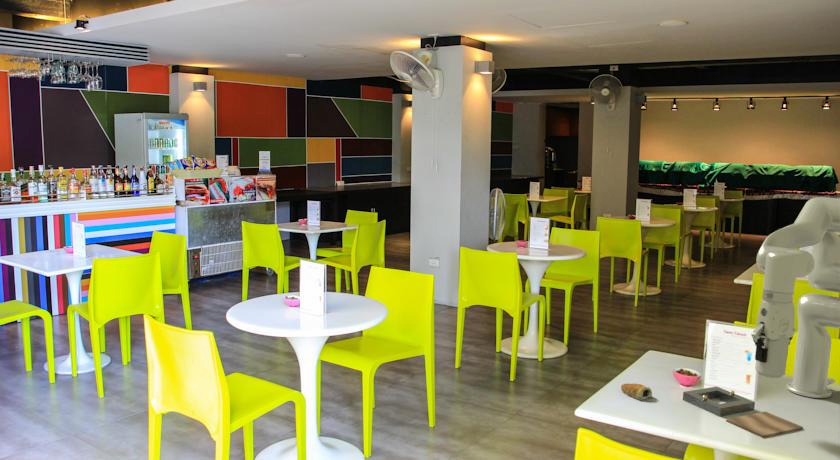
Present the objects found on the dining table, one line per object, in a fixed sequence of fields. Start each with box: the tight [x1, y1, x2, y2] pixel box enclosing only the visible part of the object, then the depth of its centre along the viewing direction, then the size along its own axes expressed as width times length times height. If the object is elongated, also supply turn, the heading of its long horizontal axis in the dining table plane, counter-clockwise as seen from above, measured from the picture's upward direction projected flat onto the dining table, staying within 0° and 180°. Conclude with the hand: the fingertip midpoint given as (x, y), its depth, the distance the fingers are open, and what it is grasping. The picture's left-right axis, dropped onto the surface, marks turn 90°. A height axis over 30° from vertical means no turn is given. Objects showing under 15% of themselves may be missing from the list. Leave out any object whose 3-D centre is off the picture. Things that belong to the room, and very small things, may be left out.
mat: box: [725, 411, 804, 439], centre depth 201 cm, size 16×12×1 cm
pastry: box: [620, 383, 653, 401], centre depth 221 cm, size 9×7×4 cm
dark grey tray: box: [682, 386, 756, 418], centre depth 215 cm, size 14×14×4 cm
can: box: [754, 335, 789, 379], centre depth 198 cm, size 8×8×12 cm
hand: (771, 359), depth 198 cm, fingers closed on can, 7 cm apart
